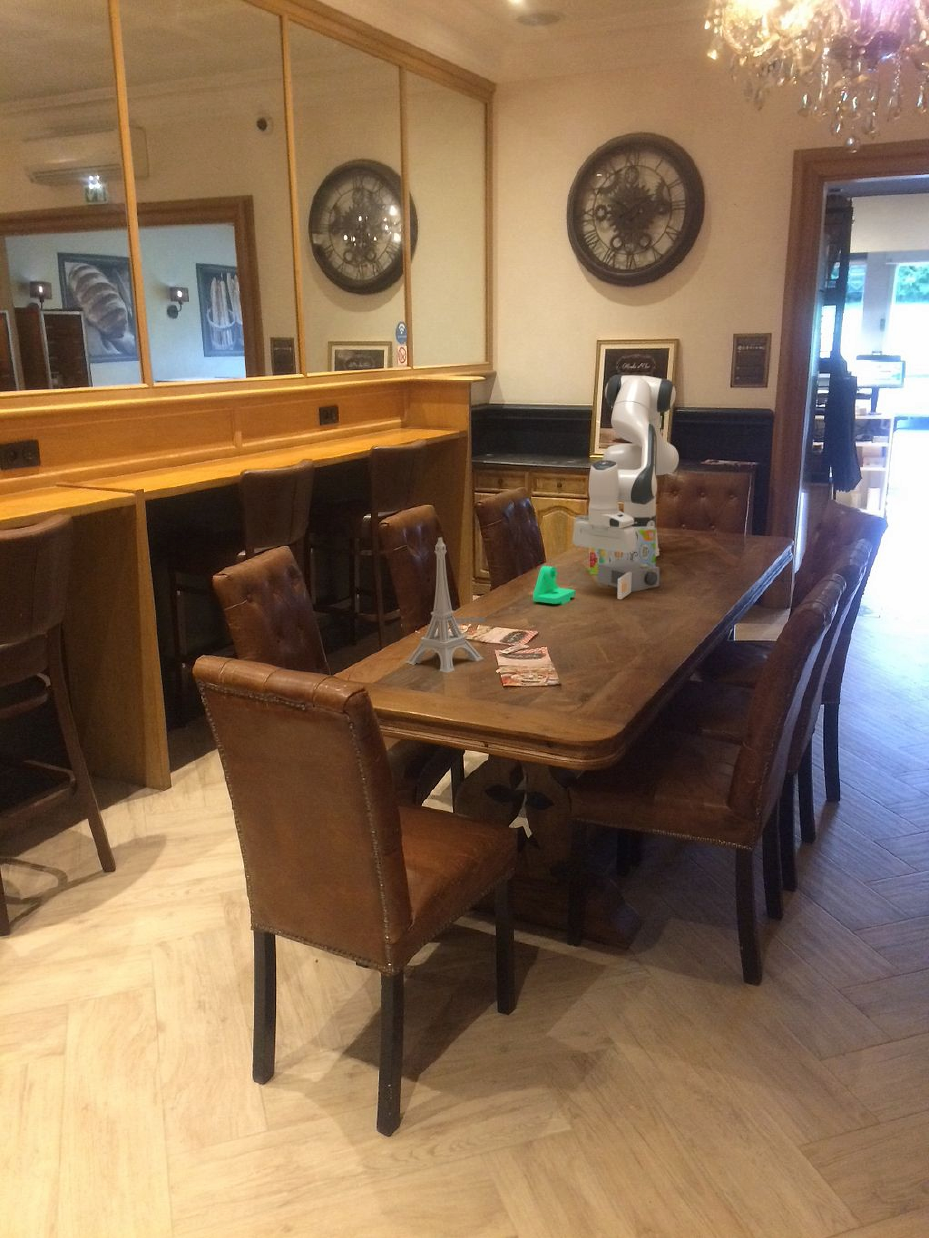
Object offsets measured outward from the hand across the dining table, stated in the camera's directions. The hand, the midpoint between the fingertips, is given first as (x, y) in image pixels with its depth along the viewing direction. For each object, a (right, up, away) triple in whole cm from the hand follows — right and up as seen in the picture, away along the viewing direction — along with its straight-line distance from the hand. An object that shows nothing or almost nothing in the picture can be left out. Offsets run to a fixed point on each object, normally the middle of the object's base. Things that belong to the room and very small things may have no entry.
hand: (603, 563), depth 292 cm
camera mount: (-15, -11, -2) cm, 19 cm away
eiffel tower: (-46, -27, -55) cm, 77 cm away
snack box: (+10, -2, +31) cm, 33 cm away
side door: (+7, -9, +1) cm, 12 cm away
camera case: (+10, -6, +15) cm, 19 cm away
